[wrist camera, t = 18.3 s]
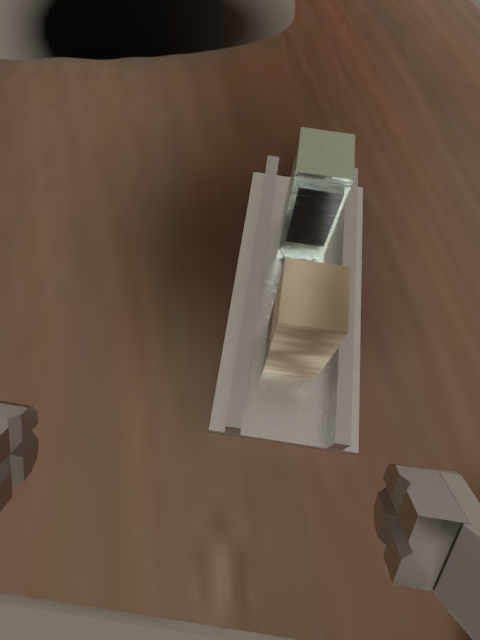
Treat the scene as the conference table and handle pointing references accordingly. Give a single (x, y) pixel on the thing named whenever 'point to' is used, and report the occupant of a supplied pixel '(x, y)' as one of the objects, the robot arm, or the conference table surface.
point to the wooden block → (307, 318)
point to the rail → (260, 290)
